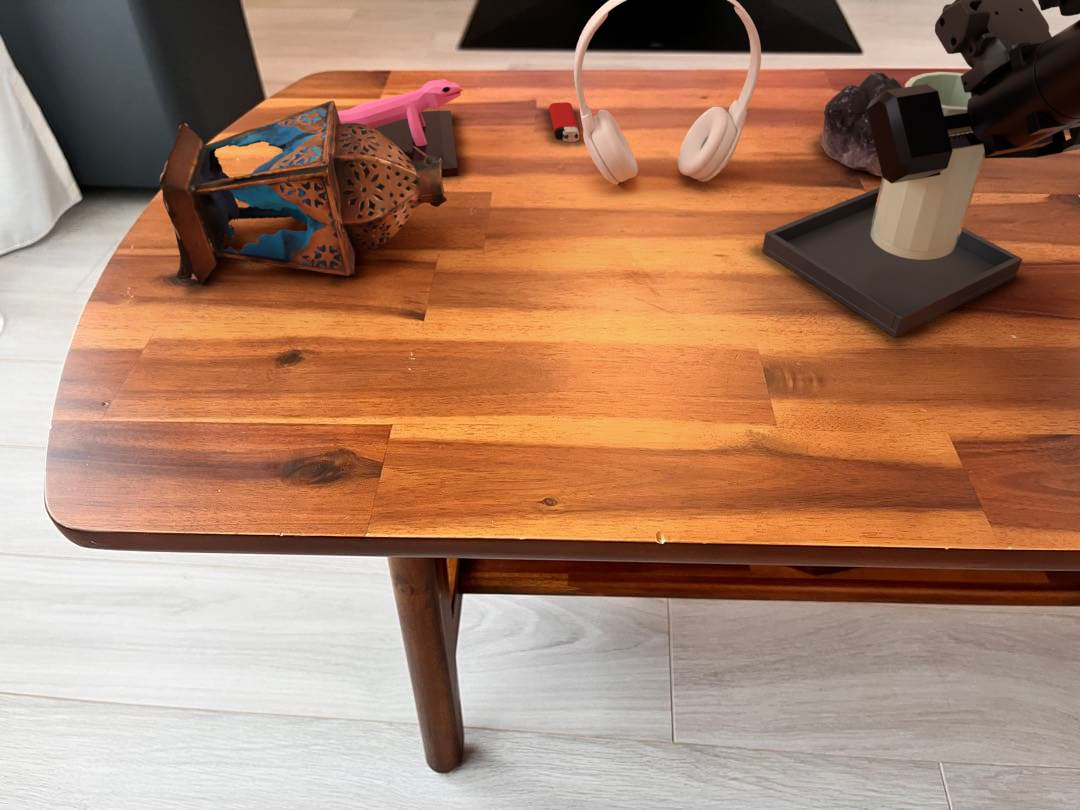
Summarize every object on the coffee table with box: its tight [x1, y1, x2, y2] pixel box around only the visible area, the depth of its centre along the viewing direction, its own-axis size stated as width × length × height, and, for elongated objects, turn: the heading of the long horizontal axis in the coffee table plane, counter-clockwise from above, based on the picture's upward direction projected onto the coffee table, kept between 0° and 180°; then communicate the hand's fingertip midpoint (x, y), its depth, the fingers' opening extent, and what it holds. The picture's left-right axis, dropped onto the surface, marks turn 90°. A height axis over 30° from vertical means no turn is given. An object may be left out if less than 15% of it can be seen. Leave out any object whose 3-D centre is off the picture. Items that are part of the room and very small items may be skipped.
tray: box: [761, 186, 1023, 339], centre depth 84 cm, size 16×16×2 cm
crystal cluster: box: [821, 71, 903, 178], centre depth 98 cm, size 13×14×10 cm
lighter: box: [548, 101, 580, 143], centre depth 106 cm, size 3×1×8 cm
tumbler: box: [870, 71, 986, 260], centre depth 73 cm, size 7×7×13 cm
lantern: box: [159, 100, 448, 285], centre depth 83 cm, size 16×16×25 cm
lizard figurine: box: [337, 78, 464, 177], centre depth 100 cm, size 15×20×7 cm
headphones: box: [573, 0, 762, 185], centre depth 90 cm, size 7×18×20 cm, turn 93°
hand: (922, 158), depth 74 cm, fingers closed on tumbler, 7 cm apart
